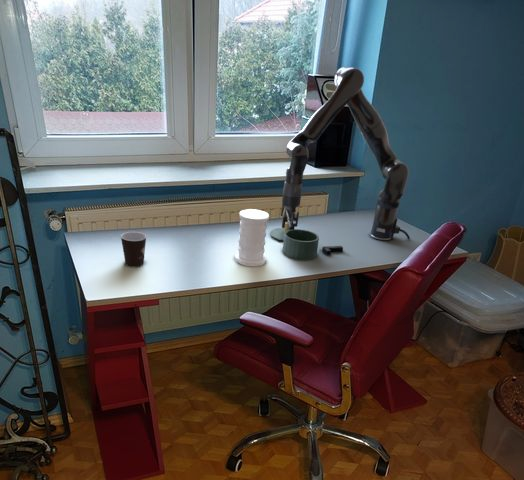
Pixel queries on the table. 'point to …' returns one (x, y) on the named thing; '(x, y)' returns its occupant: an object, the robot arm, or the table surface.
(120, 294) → the table surface
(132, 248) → the coffee mug
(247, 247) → the decorative container
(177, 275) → the table surface
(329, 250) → the hex key
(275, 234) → the tin lid
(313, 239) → the tin
